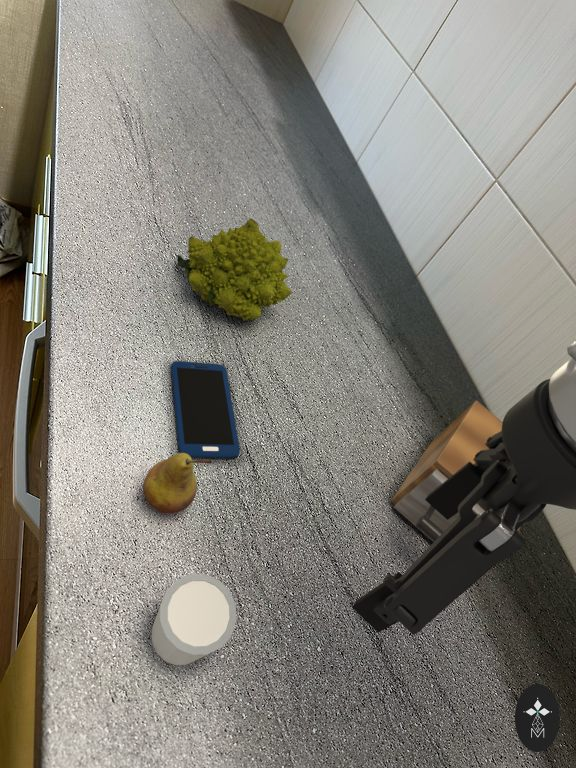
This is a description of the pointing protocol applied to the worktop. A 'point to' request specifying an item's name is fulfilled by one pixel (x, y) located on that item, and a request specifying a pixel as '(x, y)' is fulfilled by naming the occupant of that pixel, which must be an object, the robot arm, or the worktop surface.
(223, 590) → the white cup
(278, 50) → the worktop surface
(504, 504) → the robot arm
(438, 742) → the worktop surface
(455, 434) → the cabinet
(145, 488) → the fruit
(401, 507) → the drawer
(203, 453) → the cell phone
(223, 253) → the vegetable
